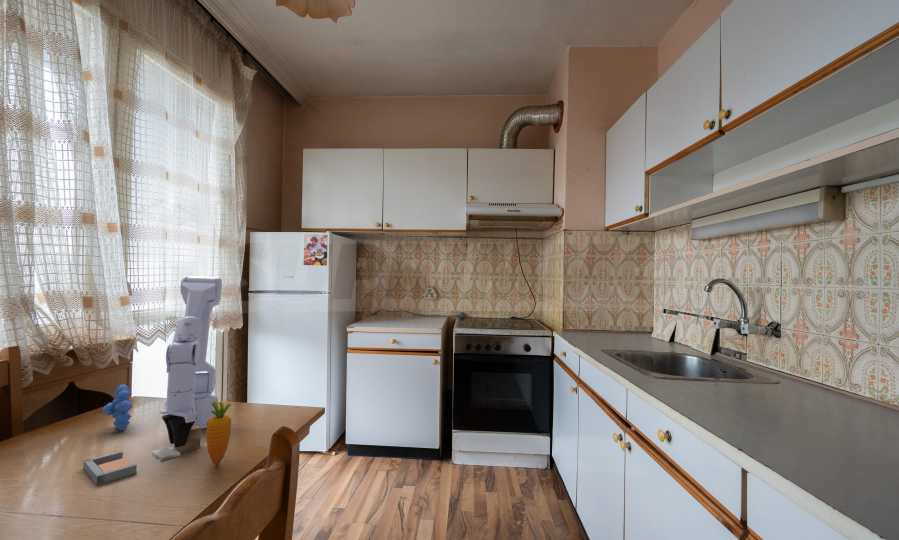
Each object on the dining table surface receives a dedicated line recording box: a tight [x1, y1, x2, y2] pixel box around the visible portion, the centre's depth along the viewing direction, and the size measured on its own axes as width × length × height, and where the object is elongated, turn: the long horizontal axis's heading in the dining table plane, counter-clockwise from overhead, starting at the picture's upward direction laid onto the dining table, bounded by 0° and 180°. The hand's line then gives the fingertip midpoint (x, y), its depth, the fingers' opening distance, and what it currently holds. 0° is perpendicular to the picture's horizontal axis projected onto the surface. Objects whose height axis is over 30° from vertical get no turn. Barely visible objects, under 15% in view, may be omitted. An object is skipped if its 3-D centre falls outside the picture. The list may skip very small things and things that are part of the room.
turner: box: [151, 425, 202, 462], centre depth 97 cm, size 9×6×5 cm, turn 144°
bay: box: [82, 450, 138, 486], centre depth 86 cm, size 7×11×2 cm, turn 54°
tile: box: [98, 457, 133, 473], centre depth 87 cm, size 5×5×2 cm
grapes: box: [101, 384, 134, 431], centre depth 109 cm, size 12×7×12 cm, turn 46°
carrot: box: [205, 401, 232, 467], centre depth 90 cm, size 5×5×15 cm
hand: (177, 444), depth 96 cm, fingers closed on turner, 2 cm apart
